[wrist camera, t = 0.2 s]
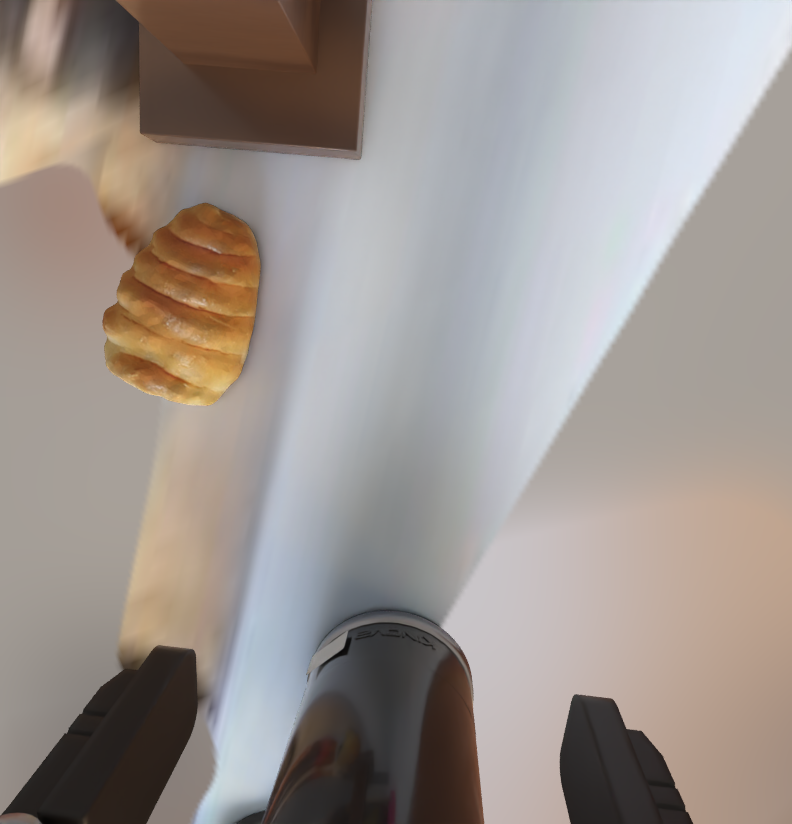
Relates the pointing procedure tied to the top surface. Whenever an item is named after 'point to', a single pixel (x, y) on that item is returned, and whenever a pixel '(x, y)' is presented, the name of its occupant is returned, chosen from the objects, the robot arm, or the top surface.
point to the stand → (254, 73)
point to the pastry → (186, 308)
